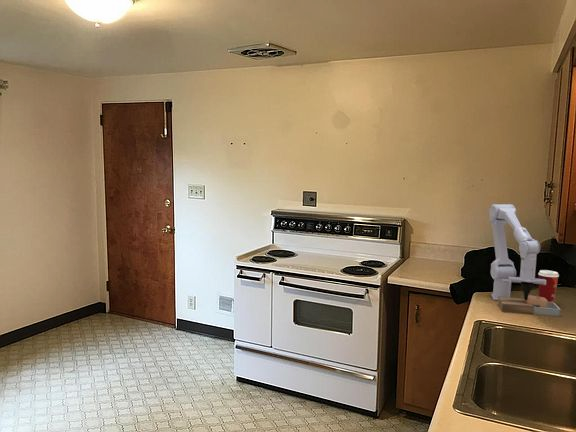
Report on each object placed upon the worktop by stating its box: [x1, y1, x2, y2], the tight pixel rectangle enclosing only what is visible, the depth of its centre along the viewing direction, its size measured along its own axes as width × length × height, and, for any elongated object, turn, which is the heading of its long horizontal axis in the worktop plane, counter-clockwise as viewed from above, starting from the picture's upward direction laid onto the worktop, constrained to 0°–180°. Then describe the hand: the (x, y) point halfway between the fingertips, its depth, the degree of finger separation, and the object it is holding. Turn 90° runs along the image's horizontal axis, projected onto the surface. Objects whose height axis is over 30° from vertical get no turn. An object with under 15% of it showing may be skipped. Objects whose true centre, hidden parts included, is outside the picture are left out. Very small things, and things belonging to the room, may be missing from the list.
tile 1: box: [525, 294, 541, 306], centre depth 210 cm, size 5×5×2 cm
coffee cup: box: [537, 269, 560, 303], centre depth 219 cm, size 8×8×15 cm
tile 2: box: [536, 296, 548, 308], centre depth 209 cm, size 5×5×2 cm
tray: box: [532, 301, 562, 317], centre depth 209 cm, size 11×10×3 cm
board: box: [497, 296, 534, 315], centre depth 212 cm, size 12×12×4 cm
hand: (525, 299), depth 210 cm, fingers closed, pressing on tile 1
